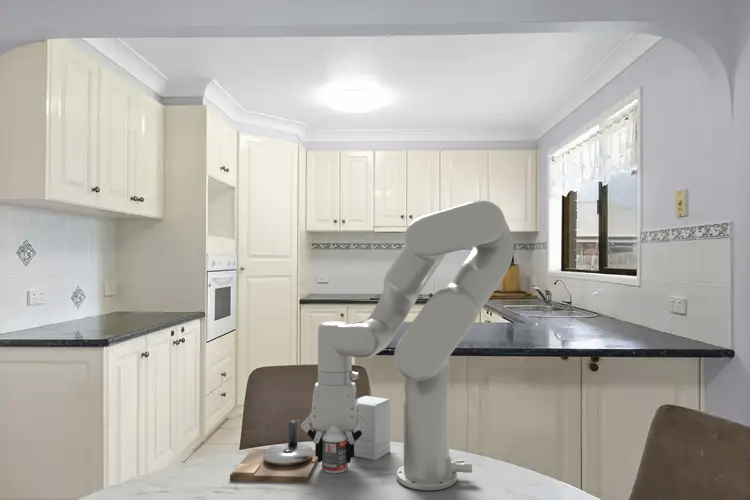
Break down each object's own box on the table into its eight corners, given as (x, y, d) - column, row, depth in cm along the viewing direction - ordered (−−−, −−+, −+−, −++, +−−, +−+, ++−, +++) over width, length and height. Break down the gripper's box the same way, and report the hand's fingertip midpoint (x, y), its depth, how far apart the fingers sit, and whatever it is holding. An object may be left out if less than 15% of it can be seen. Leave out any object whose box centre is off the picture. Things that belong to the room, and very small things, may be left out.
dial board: (321, 455, 119) (321, 448, 120) (307, 482, 104) (307, 474, 104) (253, 453, 121) (253, 446, 121) (229, 480, 105) (229, 472, 105)
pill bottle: (344, 475, 108) (343, 428, 108) (318, 473, 109) (318, 426, 109) (350, 465, 113) (350, 420, 114) (326, 463, 115) (326, 419, 115)
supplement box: (391, 451, 122) (390, 398, 122) (374, 461, 116) (374, 405, 116) (365, 445, 126) (365, 394, 126) (348, 455, 119) (348, 401, 120)
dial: (316, 447, 119) (316, 420, 120) (307, 466, 108) (307, 435, 108) (271, 446, 120) (271, 419, 120) (256, 465, 109) (257, 435, 109)
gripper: (374, 374, 115) (374, 454, 114) (300, 373, 116) (300, 453, 116) (372, 382, 108) (372, 467, 107) (292, 381, 109) (292, 466, 108)
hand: (334, 459), depth 111 cm, fingers closed on pill bottle, 5 cm apart
